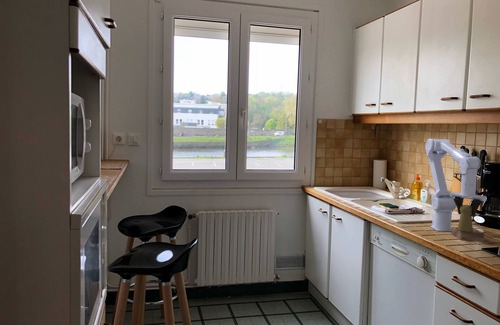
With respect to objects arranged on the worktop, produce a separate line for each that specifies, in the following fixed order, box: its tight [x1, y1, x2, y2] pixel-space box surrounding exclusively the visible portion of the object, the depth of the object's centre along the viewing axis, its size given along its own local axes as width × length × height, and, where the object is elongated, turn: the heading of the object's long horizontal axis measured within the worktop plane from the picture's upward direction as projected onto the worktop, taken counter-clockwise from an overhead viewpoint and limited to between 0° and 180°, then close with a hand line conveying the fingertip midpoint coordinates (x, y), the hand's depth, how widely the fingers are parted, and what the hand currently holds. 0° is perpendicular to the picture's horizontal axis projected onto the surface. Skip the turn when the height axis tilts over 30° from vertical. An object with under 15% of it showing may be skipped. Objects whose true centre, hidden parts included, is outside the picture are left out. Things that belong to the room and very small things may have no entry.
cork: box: [457, 204, 474, 232], centre depth 187 cm, size 6×6×11 cm
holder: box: [451, 226, 485, 242], centre depth 189 cm, size 10×10×4 cm
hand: (466, 215), depth 187 cm, fingers closed on cork, 5 cm apart
